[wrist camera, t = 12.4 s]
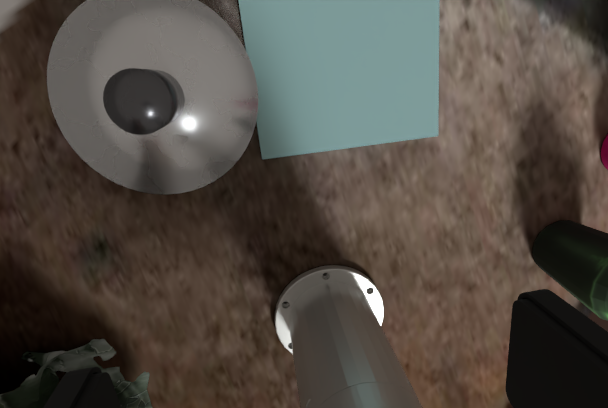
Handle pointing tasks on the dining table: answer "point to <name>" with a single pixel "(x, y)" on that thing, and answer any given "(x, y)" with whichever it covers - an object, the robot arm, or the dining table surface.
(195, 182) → the metal lid
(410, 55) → the teal mat
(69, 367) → the rose bouquet
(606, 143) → the pepper mill
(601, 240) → the potion bottle
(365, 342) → the robot arm
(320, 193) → the dining table surface
